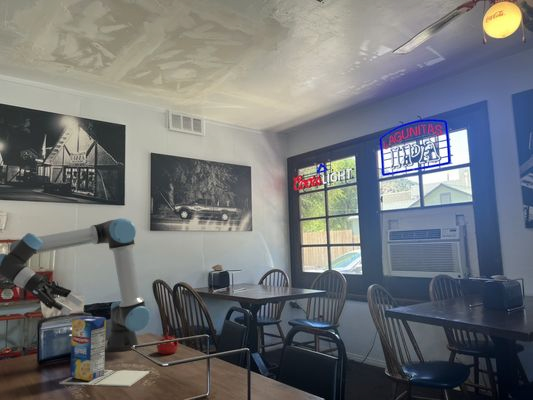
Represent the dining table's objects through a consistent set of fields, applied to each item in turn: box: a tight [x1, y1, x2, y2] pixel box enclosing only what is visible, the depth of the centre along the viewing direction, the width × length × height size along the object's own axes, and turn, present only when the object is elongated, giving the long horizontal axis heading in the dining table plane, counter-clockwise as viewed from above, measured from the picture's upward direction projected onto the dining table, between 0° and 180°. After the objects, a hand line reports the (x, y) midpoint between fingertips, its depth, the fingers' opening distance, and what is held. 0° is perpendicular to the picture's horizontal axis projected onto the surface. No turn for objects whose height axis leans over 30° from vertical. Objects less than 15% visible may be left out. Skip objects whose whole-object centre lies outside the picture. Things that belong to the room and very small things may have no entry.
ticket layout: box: [59, 369, 150, 388], centre depth 152 cm, size 16×28×1 cm, turn 81°
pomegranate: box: [156, 332, 179, 355], centre depth 188 cm, size 10×10×9 cm
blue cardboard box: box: [69, 315, 107, 382], centre depth 155 cm, size 7×11×22 cm, turn 63°
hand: (76, 308), depth 162 cm, fingers open, 13 cm apart
